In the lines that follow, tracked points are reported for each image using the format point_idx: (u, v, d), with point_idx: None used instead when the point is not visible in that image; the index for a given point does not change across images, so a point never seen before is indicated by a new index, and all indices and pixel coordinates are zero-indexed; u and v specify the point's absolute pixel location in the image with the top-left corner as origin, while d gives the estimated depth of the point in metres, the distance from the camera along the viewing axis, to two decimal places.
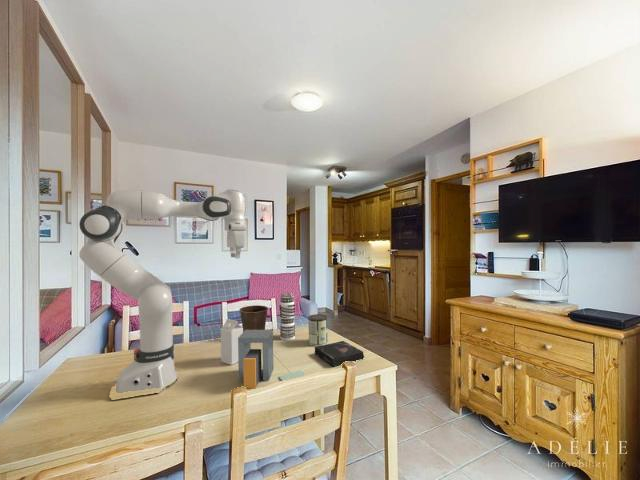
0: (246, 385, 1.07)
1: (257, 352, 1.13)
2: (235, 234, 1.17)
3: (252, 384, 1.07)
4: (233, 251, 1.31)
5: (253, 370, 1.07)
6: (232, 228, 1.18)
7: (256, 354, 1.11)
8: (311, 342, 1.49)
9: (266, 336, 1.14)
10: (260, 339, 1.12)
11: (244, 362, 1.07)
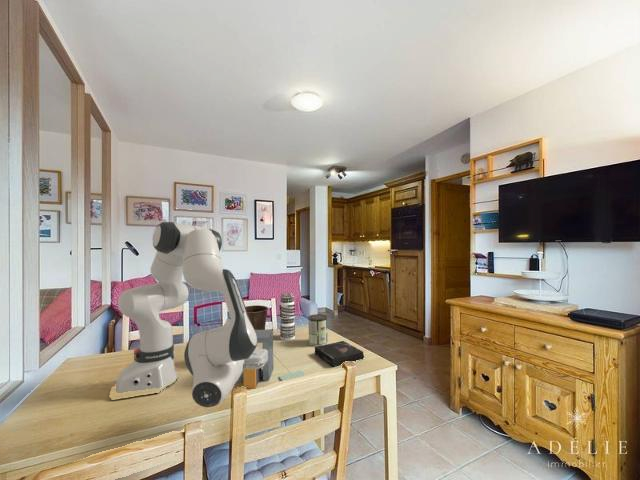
0: (246, 385, 1.07)
1: None
2: None
3: (252, 384, 1.07)
4: None
5: (253, 370, 1.07)
6: None
7: None
8: (311, 342, 1.49)
9: (266, 336, 1.14)
10: (260, 339, 1.12)
11: None
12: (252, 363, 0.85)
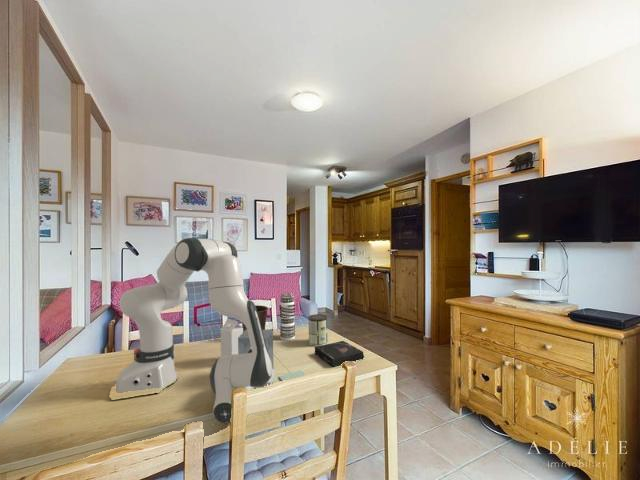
0: None
1: None
2: None
3: None
4: None
5: None
6: None
7: None
8: (311, 342, 1.49)
9: (266, 336, 1.14)
10: None
11: None
12: None
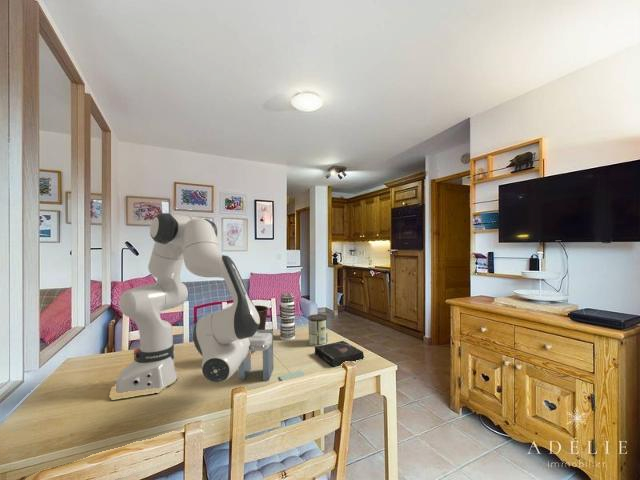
0: None
1: None
2: None
3: None
4: None
5: None
6: None
7: None
8: (311, 342, 1.49)
9: None
10: None
11: None
12: (257, 345, 0.90)
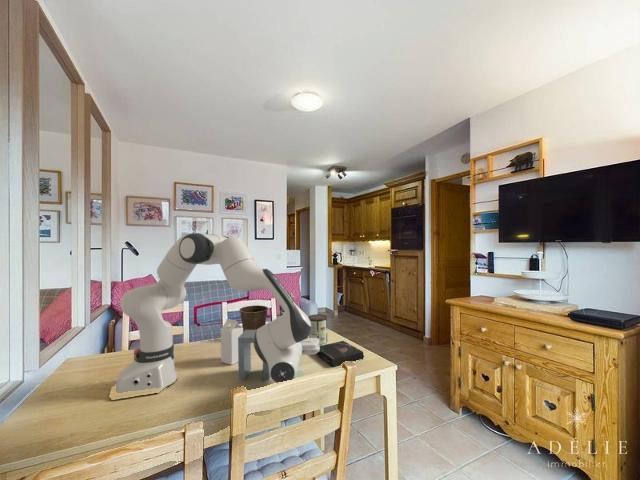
0: None
1: None
2: None
3: None
4: None
5: None
6: None
7: None
8: None
9: None
10: None
11: None
12: (309, 349, 0.99)
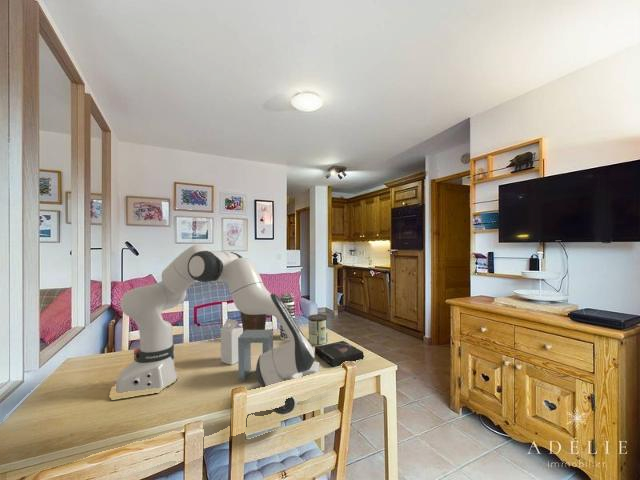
0: None
1: None
2: None
3: None
4: None
5: None
6: None
7: None
8: (311, 342, 1.49)
9: (266, 336, 1.14)
10: (260, 339, 1.12)
11: None
12: None
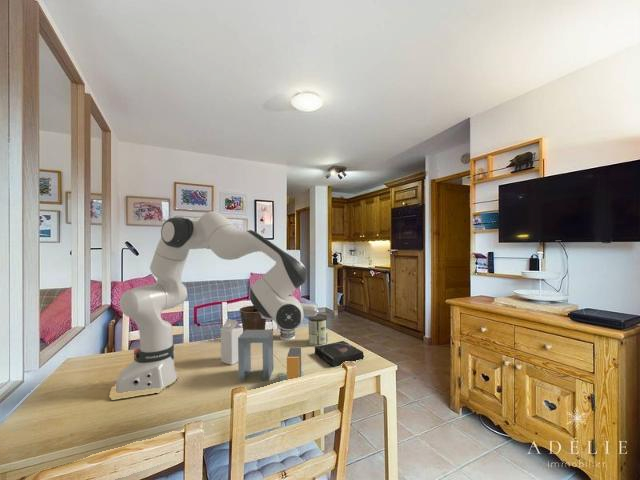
0: None
1: (298, 351, 1.12)
2: None
3: None
4: None
5: (296, 369, 1.06)
6: None
7: (298, 353, 1.10)
8: (311, 342, 1.49)
9: (266, 336, 1.14)
10: (260, 339, 1.12)
11: (287, 361, 1.06)
12: (309, 310, 0.95)
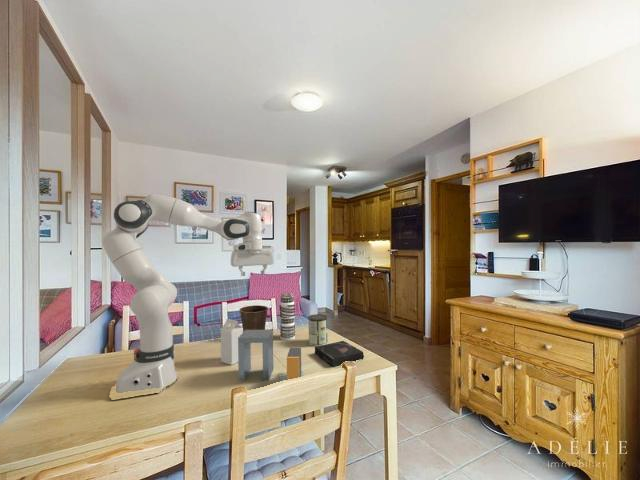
0: None
1: (298, 351, 1.12)
2: (231, 254, 1.32)
3: None
4: (264, 268, 1.37)
5: (296, 369, 1.06)
6: (233, 248, 1.34)
7: (298, 353, 1.10)
8: (311, 342, 1.49)
9: (266, 336, 1.14)
10: (260, 339, 1.12)
11: (287, 361, 1.06)
12: None
